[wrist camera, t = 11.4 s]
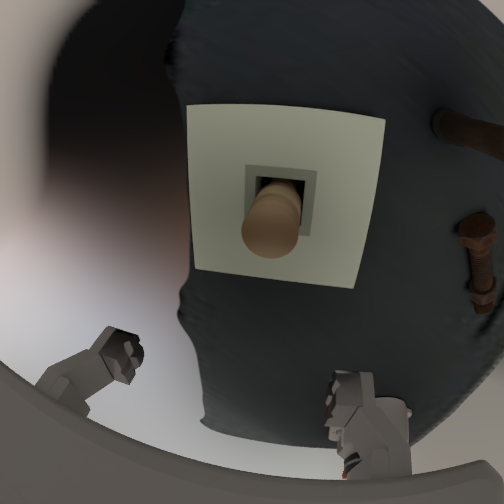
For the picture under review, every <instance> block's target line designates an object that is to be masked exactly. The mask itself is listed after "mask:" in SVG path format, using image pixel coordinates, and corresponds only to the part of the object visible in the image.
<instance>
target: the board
mask: <svg viewBox="0 0 504 504" xmlns="http://www.w3.org/2000/svg"><path fill="white" fill-rule="evenodd" d="M384 129H385V120H384V119H380V118H376V117H370V116H365V115H359V114H353V113H347V112H340V111H332V110H325V109H316V108H306V107H295V106H281V105H262V104H202V105H187V143H188V171H189V192H190V208H191V223H192V236H193V249H194V260H195V269H201V270H209V271H216V272H223V273H230V274H238V275H245V276H253V277H261V278H268V279H276V280H284V281H292V282H301V283H309V284H318V285H327V286H335V287H344V288H354V284H355V281H356V277H357V273H358V269H359V265H360V261H361V257H362V253H363V249H364V245H365V241H366V236H367V232H368V227H369V222H370V217H371V213H372V207H373V202H374V197H375V191H376V186H377V180H378V173H379V167H380V160H381V153H382V145H383V137H384ZM262 177H274V178H285V179H295V180H304V181H305V186H304V196H303V206H302V211H301V214H300V224H299V235H298V241H297V244H296V246H295V247H294V249H293V250H292V251H291V252H290V253H288V254H287V255H285V256H283V257H280V258H275V259H268V258H263V257H260V256H258V255H256V254H254V253H253V252H251V251H250V250H249V249H248V248H247V246H246V245H245V243H244V241H243V239H242V235H241V227H242V223H243V221H244V219H245V217H246V215H247V213H248V212H249V210H250V208H251V206H252V204H253V202H254V200H255V198H256V196H257V194H258V192H259V191H260V190H261V188H262Z"/></svg>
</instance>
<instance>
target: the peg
mask: <svg viewBox="0 0 504 504" xmlns="http://www.w3.org/2000/svg"><path fill="white" fill-rule="evenodd" d="M297 192H298V188H297V184H296V182H295V181H294V180H293V179H285V178H273V179H272V180H271V181H270V183H269V185H266V186H265V187H263V188H262V189H261V190H260V191H259V192H258V194H257V196H256V198H255V200H254V202H253V204H252V206H251V208H250V210H249V212H248V213H247V215H246V217H245V219H244V221H243V223H242V227H241V235H242V239H243V241H244V243H245V245H246V246H247V248H248V249H249V250H250V251H251V252H253V253H254V254H256V255H258V256H260V257H263V258H268V259H275V258H280V257H283V256H285V255H287V254H288V253H290V252H291V251H292V250H293V249H294V247H295V246H296V244H297V241H298V235H299V224H300V214H301V207H302V205H301V199H300V197H299V195H298V193H297Z"/></svg>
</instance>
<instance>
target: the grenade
mask: <svg viewBox="0 0 504 504" xmlns="http://www.w3.org/2000/svg"><path fill="white" fill-rule="evenodd" d="M432 128H433V131H434V133H435V135H436V136H437V138H438V139H440V140H441V141H442V142H444V143H447V144H455V145H457V146H462V147H464V146H469V147H471V148H474V149H476V150H479V151H481V152H483V153H486V154H488V155H490V156H493V157H495V158H497V159H499V160H501V161H503V162H504V126H501V125H497V124H493V123H489V122H485V121H481V120H476V119H471V118H469V117H468V116H466V115H464V114H462V113H457V112H454V111H452V110H450V109H442V110H440V111H437V113H436V114H435V115H434V117H433V119H432Z"/></svg>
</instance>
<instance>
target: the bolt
mask: <svg viewBox="0 0 504 504" xmlns="http://www.w3.org/2000/svg"><path fill="white" fill-rule="evenodd" d="M459 240H460V245H461V246H464V247H467V248H468V249H469V251H470V259H471V269H472V279H471V280H470V286H469V298H470V299H471V300H472V301H473V302H474V310H475V312H476V313H477V314H478V315H483V314H488V313H490V312H491V311H492V308H493V300H494V299H495V298H496V277H494V276H493V266H492V250H491V247H492V244H494V243H495V242H497V232H496V223H495V219H494V218H493V217H491V216H490V215H488V214H484V213H482V214H473V215H471V216H469V217H467V218H465V219H464V220H462V221H461V223H460V224H459Z"/></svg>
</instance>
